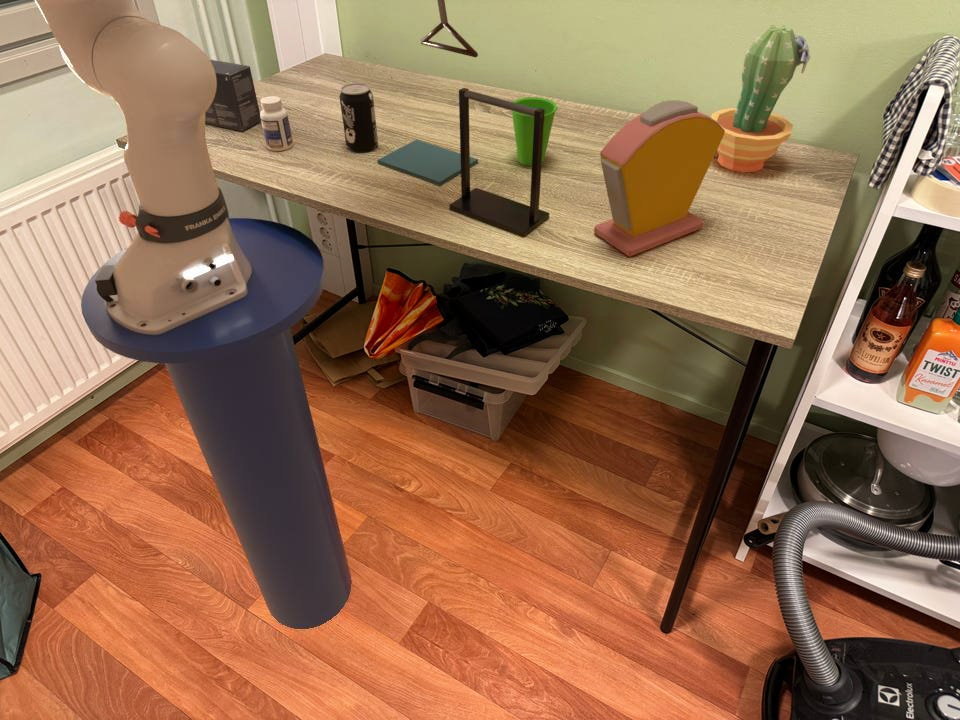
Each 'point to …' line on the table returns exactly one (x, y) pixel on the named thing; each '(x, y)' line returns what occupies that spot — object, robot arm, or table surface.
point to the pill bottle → (275, 124)
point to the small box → (233, 98)
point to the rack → (491, 205)
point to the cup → (532, 127)
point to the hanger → (444, 23)
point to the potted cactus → (760, 100)
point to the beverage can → (358, 117)
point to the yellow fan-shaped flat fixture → (656, 175)
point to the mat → (426, 162)
